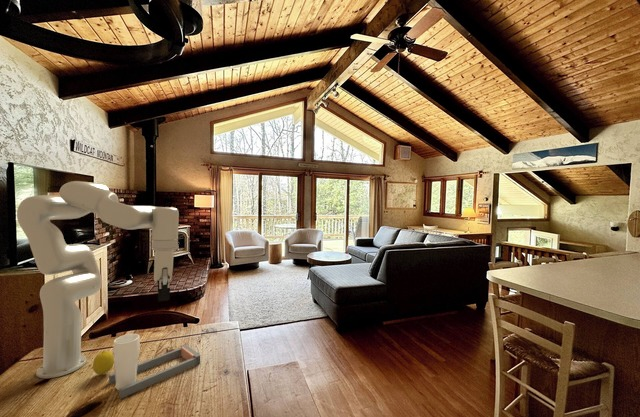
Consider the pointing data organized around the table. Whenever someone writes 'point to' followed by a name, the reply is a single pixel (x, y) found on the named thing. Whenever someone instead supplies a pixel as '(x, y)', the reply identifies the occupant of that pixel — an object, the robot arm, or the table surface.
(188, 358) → the guide channel
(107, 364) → the lemon
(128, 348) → the drinking glass
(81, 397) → the table surface
